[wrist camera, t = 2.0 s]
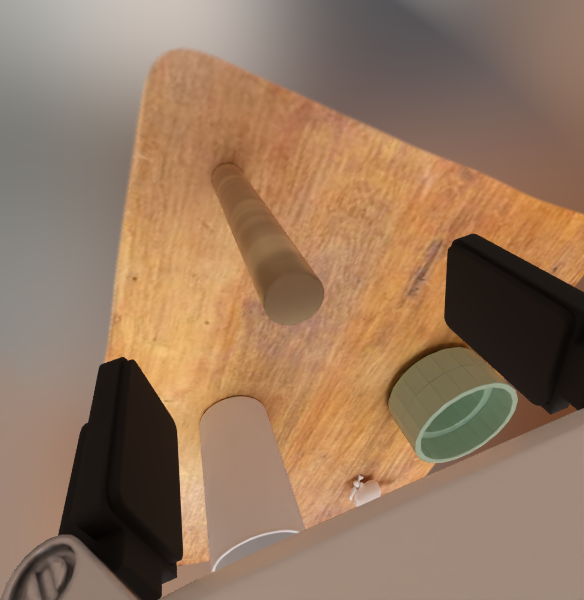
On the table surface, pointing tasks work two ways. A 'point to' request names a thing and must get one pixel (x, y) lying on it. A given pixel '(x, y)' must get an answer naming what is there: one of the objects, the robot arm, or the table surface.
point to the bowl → (451, 404)
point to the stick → (267, 251)
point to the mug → (244, 482)
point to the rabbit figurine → (365, 491)
